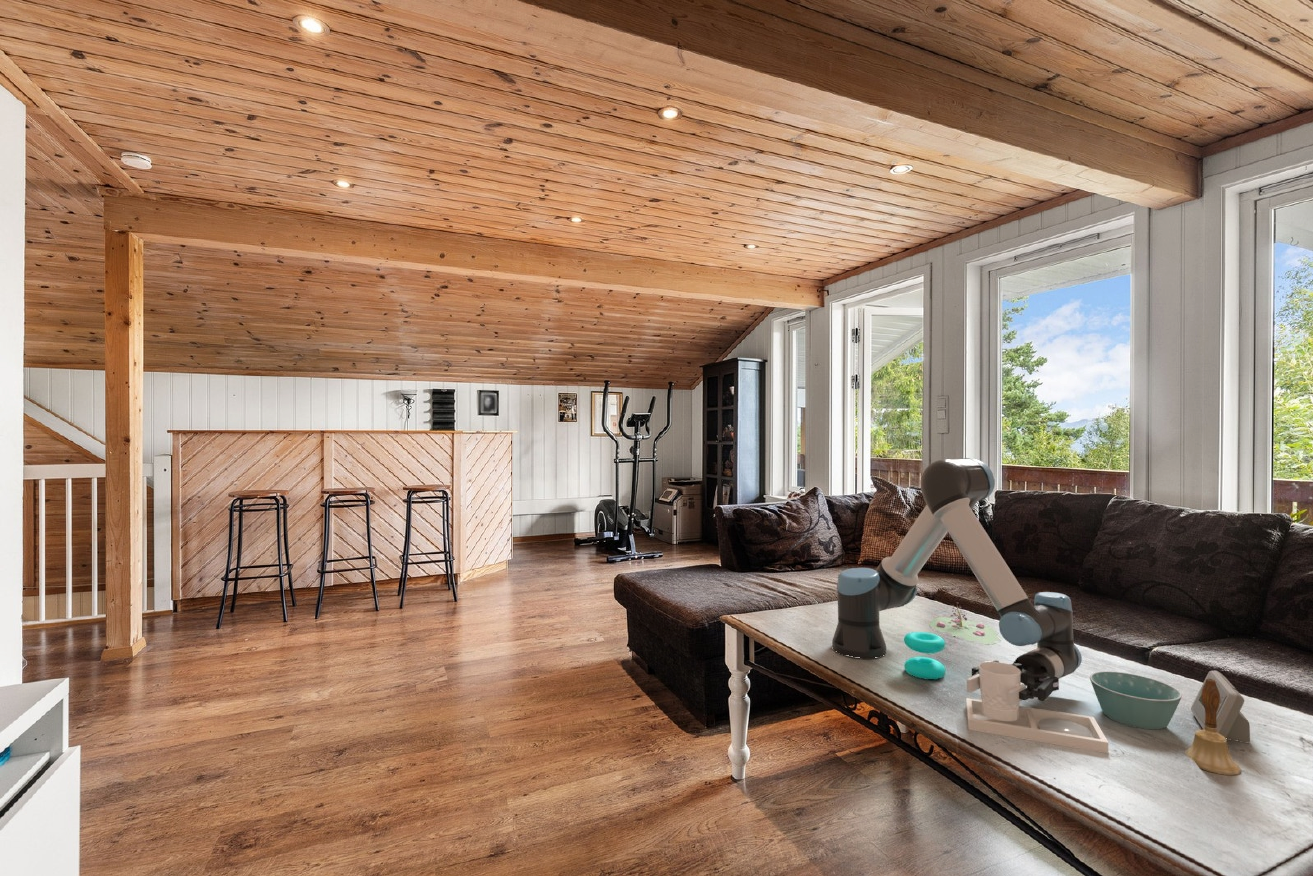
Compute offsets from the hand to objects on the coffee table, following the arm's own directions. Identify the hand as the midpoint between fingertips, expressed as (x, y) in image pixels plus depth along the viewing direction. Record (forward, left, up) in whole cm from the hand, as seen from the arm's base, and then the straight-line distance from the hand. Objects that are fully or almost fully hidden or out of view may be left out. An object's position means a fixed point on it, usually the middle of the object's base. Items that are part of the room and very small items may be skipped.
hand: (988, 692), depth 127 cm
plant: (-1, +75, -10) cm, 76 cm away
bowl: (+29, +19, -9) cm, 36 cm away
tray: (+8, +4, -9) cm, 13 cm away
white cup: (+2, +4, -6) cm, 8 cm away
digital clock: (+44, +21, -9) cm, 49 cm away
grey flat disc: (+14, +4, -8) cm, 16 cm away
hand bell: (+37, +4, -9) cm, 38 cm away
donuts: (-13, +31, -9) cm, 34 cm away
